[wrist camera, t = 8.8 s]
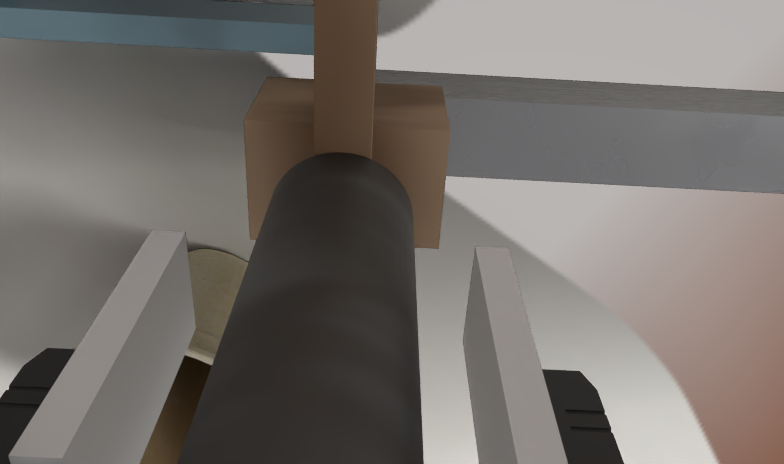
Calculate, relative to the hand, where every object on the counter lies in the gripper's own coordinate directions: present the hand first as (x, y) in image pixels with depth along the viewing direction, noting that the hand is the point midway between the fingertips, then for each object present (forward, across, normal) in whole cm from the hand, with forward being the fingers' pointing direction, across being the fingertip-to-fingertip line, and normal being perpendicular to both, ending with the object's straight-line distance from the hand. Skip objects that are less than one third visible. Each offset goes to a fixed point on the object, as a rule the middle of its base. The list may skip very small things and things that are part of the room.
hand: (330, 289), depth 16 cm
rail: (+13, -10, 0) cm, 16 cm away
